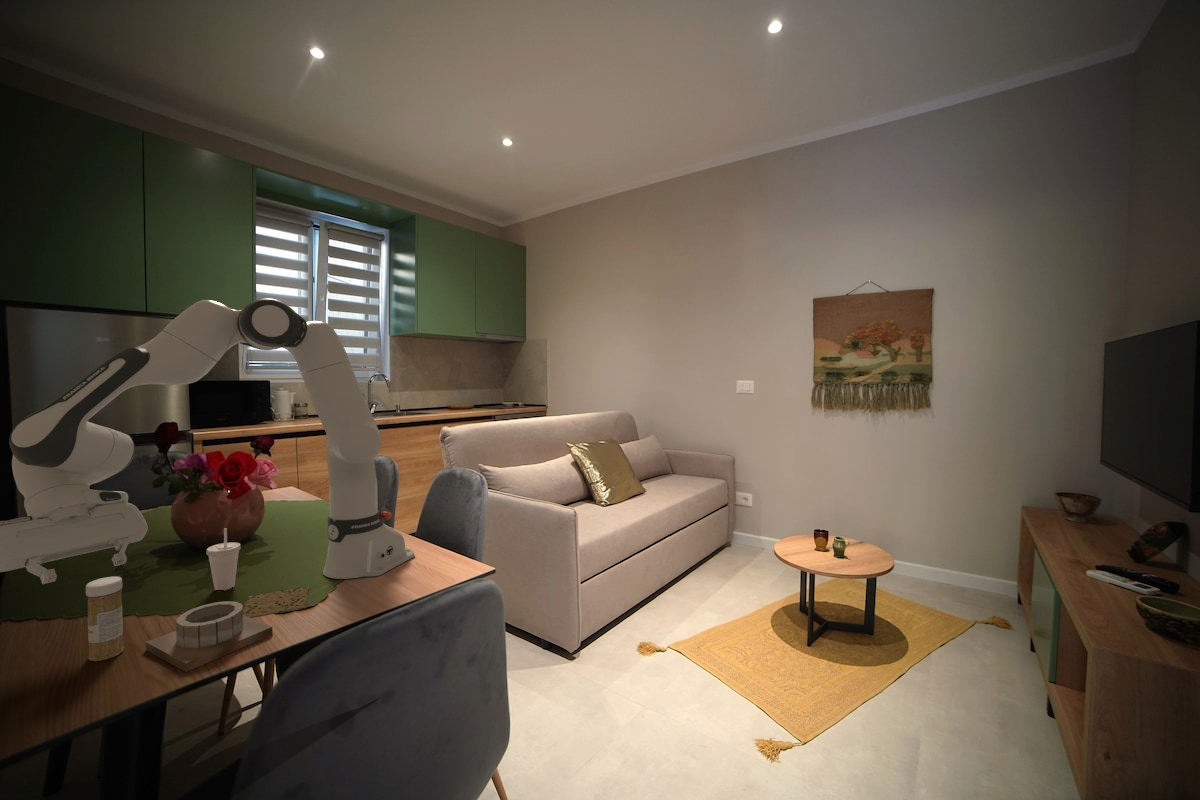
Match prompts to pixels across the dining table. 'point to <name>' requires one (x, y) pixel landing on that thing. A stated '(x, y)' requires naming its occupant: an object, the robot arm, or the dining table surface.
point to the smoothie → (224, 563)
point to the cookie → (276, 602)
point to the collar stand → (208, 635)
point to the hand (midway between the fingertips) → (87, 571)
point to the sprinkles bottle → (104, 618)
